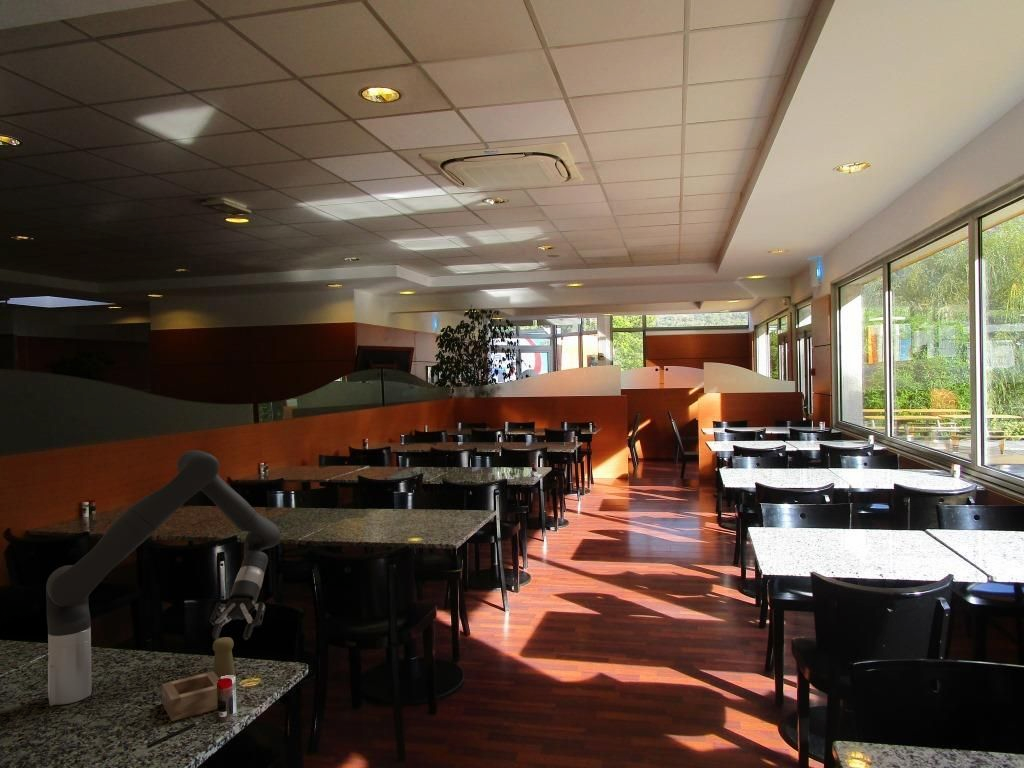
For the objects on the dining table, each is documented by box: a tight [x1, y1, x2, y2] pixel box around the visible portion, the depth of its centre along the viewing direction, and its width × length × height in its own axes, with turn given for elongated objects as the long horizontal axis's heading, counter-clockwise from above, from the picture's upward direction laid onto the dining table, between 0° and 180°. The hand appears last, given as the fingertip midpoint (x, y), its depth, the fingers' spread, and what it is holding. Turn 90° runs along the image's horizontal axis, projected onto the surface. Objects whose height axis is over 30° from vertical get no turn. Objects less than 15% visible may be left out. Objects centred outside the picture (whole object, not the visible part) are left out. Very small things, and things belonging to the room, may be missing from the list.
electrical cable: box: [146, 721, 200, 749], centre depth 156 cm, size 12×1×1 cm, turn 150°
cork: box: [212, 636, 237, 678], centre depth 187 cm, size 6×6×11 cm
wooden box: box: [161, 671, 219, 722], centre depth 171 cm, size 12×12×5 cm
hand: (229, 638), depth 191 cm, fingers open, 8 cm apart
